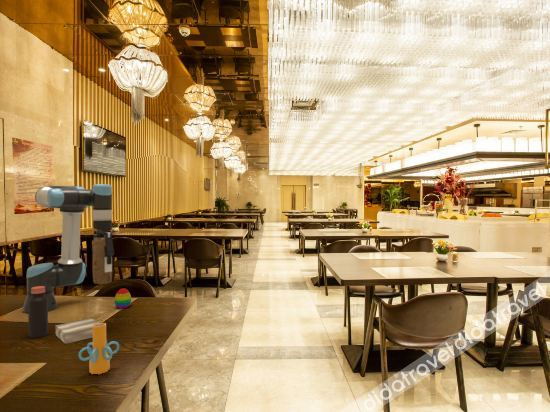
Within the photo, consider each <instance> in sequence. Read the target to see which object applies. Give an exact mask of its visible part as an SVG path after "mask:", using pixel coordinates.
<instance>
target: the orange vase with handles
mask: <svg viewBox="0 0 550 412" xmlns="http://www.w3.org/2000/svg"><path fill="white" fill-rule="evenodd" d="M113 344H114V345H115V346H116V348H115V350H114V351H112V348H111V347H110V346H111V345H113ZM86 345H87V346H85V347H83V348H81V349H80V350H79V352H78V358H79V360H80V361H84V362H85V361H88V360H89V362H88V363H89V364H88V365H89V367H88V368H89V369H88V371H89V374H90V373H91V375H93V374H98V375H101V374H102V373H103V374H105V373H107V372H109V371H108V370H110V368H111V364H110V363H111V359H112V357H113V355H114V354H116V353H118V352H119V350H120V344H119V342H118V341H114V340H113V341H110V342H109V343H108V340H107V323H106V322H98V323H97V324H94V325H93V337H92V341H91V342H88V343H87V344H86ZM90 346H92V347H90ZM84 351H87V353H88V354H89V356H87V357H83V356H82V353H83V352H84Z"/></svg>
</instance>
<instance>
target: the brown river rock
mask: <svg viewBox="0 0 550 412" xmlns="http://www.w3.org/2000/svg"><path fill="white" fill-rule="evenodd" d="M93 238H94V237H93ZM92 245H93V252H92V282H93V284H96V285H98V284H99V285H105V284H109V283H112V281H113V274H112V273H113V271H112V272H105V257H104V255H105V251H104V246H106V242H105V238H99V237H95V238H94V243H93V242H92Z"/></svg>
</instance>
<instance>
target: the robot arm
mask: <svg viewBox="0 0 550 412" xmlns="http://www.w3.org/2000/svg"><path fill="white" fill-rule="evenodd" d="M112 187H113V186H112V185H111V184H109V183H108V184H106V183H105V184H104V183H103V184H102V183H98V184H97V183H96V184H93V185H92V189H90V188H89V189H87V188H84V187H83V186H78V185H77V186H76V185H48V186H44V187H41V188H39V189H38V190H37V191H36V192H35V194H34V200H35V202H36V203H37V204H38V205H39V206H41V207H44V208H49V209H59V212H60V213H61V215H62V221H61V222H62V223H61V224H62V226H61V228H62V229H61V250H60V251H61V254H60V255H61V257H60V258H59V259H58V260H57V264H54V262H45V263H39V264H35V265H32V266H29V267H28V268H27V270H26V297H25V300H24V303H23V306H22V313H26V314H29V310H28V301H29V299H30V298H31V297H32V295H31V288H32V287H37V286H45V293H44V295H45V296H46V297H47V298H48V312H50V311H53V310H56V309H58V301H57V298H56V296H55V293H54V288H58V287H66V286H75V285H80V284H81V283H83V281H84V279H85V277H86V274H87V273H86V272H87V269H86V263H85V262H83V259H82V258H81V257H80V246H81V223H82V222H81V221H82V214H84V213H85V209H87V208H88V207H92V219H93V221H92V229H93V230H94V231H93V240H92V247H91V252H92V253H93V243H94V238H95V237H99V238H105V242H106V246H104V251H105V255H104V257H105V272H112V273H113V256H114V255H115V249H114V243H113V233H112V231H111V232H109V229H110V230H111V229H113V220H112V218H113V216H112V215H113V213H114V212H113V188H112Z"/></svg>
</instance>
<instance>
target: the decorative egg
mask: <svg viewBox="0 0 550 412" xmlns="http://www.w3.org/2000/svg"><path fill="white" fill-rule="evenodd" d="M131 303H132V296H131V293H130V292H129V290H128V289H127V288H124V287H123V288H120V289H119V290H118V291H117V292H116V294H115V297H114V305H115V307H116V308H117V309H120V310H121V309H122V310H123V309H127V308H129V307H130V305H131Z"/></svg>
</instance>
